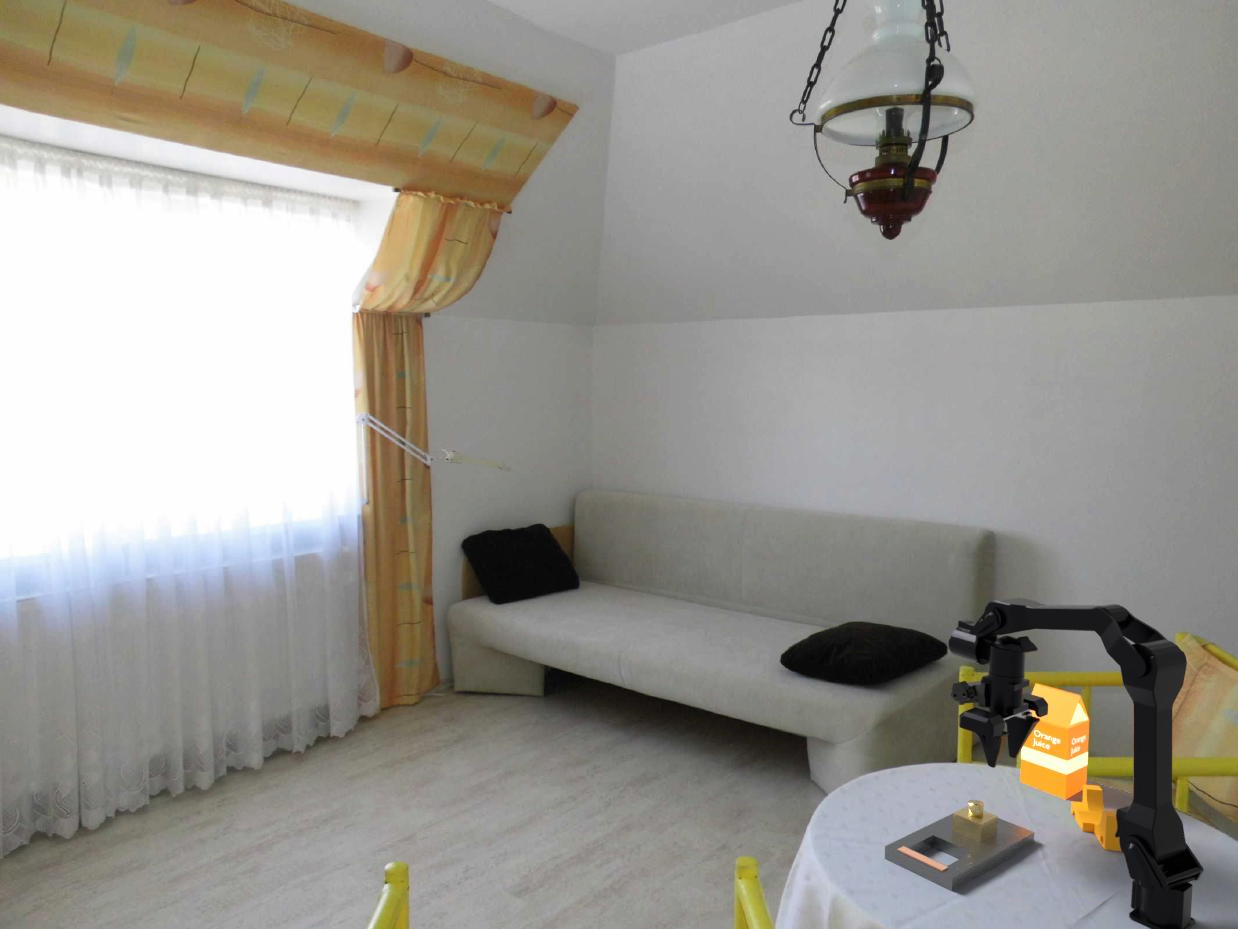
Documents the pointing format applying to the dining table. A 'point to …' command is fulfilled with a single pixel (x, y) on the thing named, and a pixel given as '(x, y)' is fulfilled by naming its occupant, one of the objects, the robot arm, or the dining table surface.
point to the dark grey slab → (957, 851)
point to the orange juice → (1057, 745)
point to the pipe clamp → (1096, 817)
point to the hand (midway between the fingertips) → (1002, 762)
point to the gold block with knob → (975, 821)
